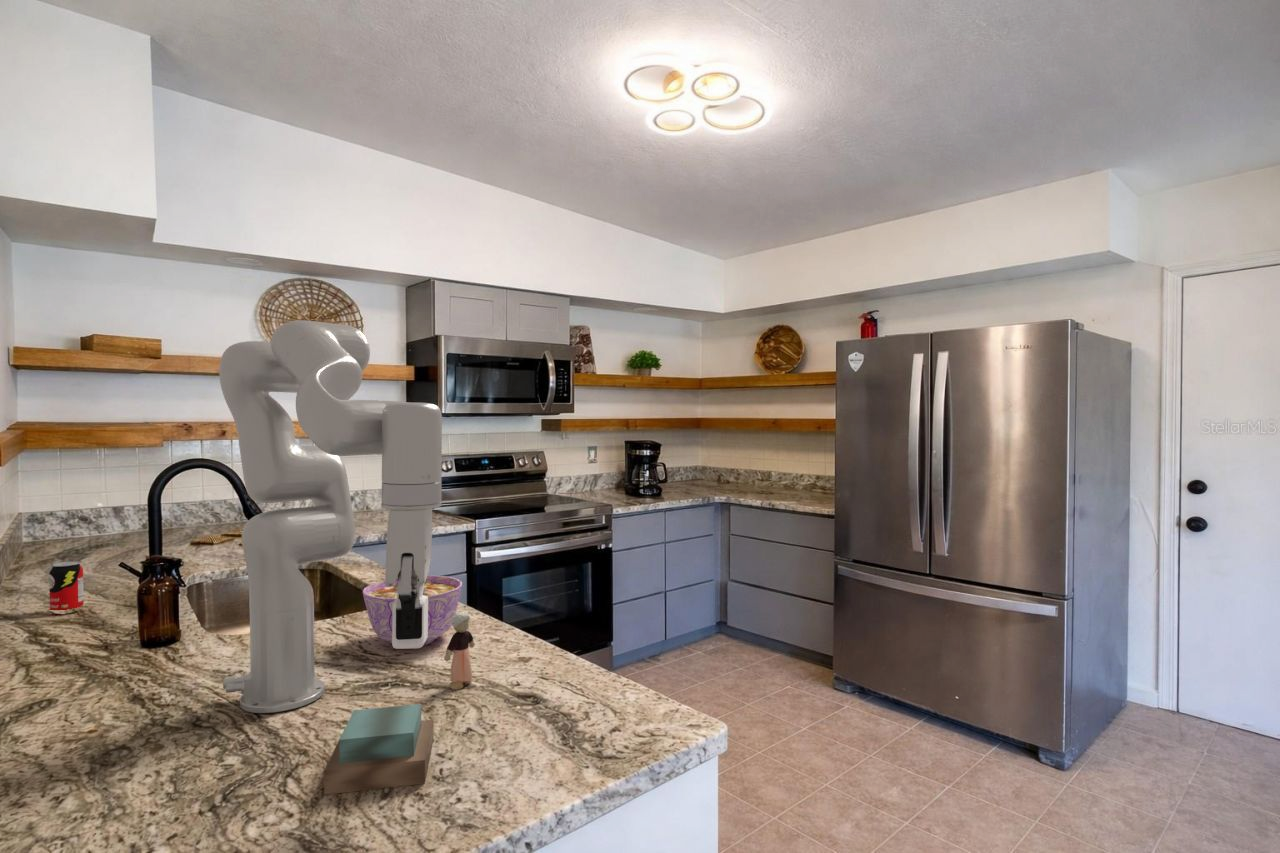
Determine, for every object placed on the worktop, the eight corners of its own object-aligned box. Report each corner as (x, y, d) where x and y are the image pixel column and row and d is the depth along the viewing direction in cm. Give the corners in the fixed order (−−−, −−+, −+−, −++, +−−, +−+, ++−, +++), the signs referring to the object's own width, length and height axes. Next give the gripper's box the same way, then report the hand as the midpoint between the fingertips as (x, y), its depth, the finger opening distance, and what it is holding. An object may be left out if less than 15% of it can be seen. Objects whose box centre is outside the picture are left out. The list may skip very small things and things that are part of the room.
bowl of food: (407, 664, 129) (406, 604, 129) (342, 646, 139) (341, 590, 139) (482, 635, 146) (482, 582, 146) (419, 621, 156) (419, 571, 156)
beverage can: (59, 609, 168) (58, 561, 168) (89, 607, 170) (88, 560, 170) (43, 616, 162) (43, 566, 162) (74, 614, 164) (73, 565, 163)
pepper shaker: (422, 649, 88) (423, 577, 88) (390, 650, 88) (391, 577, 88) (428, 639, 92) (429, 570, 92) (398, 640, 92) (399, 570, 92)
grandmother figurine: (461, 692, 115) (461, 618, 115) (441, 691, 116) (440, 617, 116) (481, 676, 123) (480, 606, 123) (461, 674, 124) (461, 605, 124)
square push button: (324, 794, 84) (323, 746, 84) (345, 748, 96) (344, 706, 96) (425, 783, 87) (424, 736, 87) (433, 739, 98) (433, 698, 98)
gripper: (390, 488, 97) (390, 614, 98) (371, 505, 81) (370, 657, 81) (445, 487, 99) (444, 612, 99) (436, 504, 82) (435, 652, 83)
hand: (411, 630), depth 90 cm, fingers closed on pepper shaker, 4 cm apart
